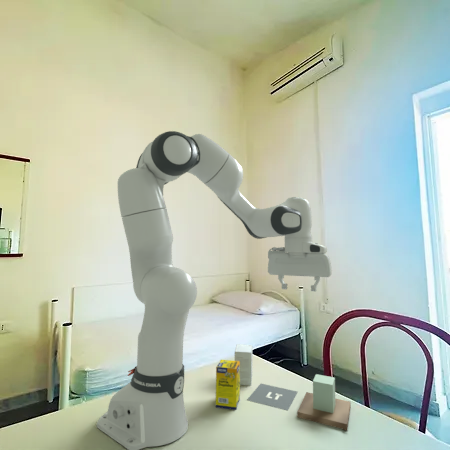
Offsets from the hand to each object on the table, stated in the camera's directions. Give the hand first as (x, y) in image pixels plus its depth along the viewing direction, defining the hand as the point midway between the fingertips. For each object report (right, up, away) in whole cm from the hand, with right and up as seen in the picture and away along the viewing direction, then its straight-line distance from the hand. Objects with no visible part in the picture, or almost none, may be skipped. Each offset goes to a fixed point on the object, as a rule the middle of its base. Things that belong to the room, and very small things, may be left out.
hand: (298, 290), depth 96 cm
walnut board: (+3, -29, -17) cm, 34 cm away
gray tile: (-10, -30, -8) cm, 32 cm away
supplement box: (-23, -30, -12) cm, 40 cm away
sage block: (+3, -28, -16) cm, 32 cm away
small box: (-18, -31, +3) cm, 36 cm away
